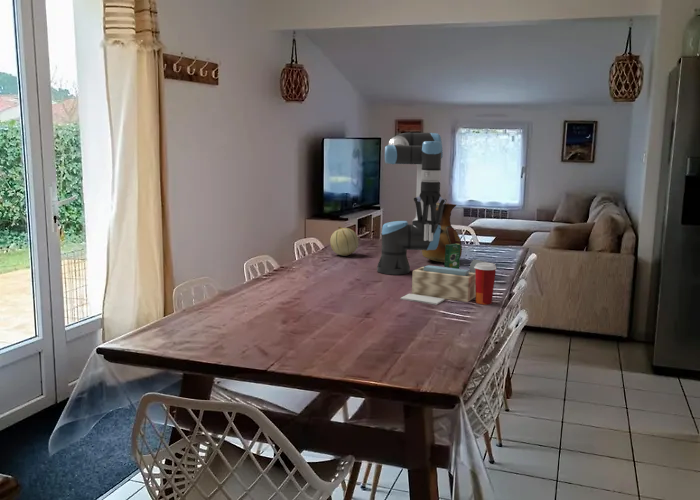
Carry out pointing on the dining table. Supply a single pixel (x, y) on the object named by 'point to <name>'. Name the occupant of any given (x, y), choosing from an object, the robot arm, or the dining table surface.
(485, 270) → the coffee cup
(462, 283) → the jig
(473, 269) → the ceramic mug
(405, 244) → the robot arm
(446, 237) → the ceramic pitcher
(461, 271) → the bar
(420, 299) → the mat
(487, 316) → the dining table surface
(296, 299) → the dining table surface
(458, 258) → the coffee box
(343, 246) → the cantaloupe
